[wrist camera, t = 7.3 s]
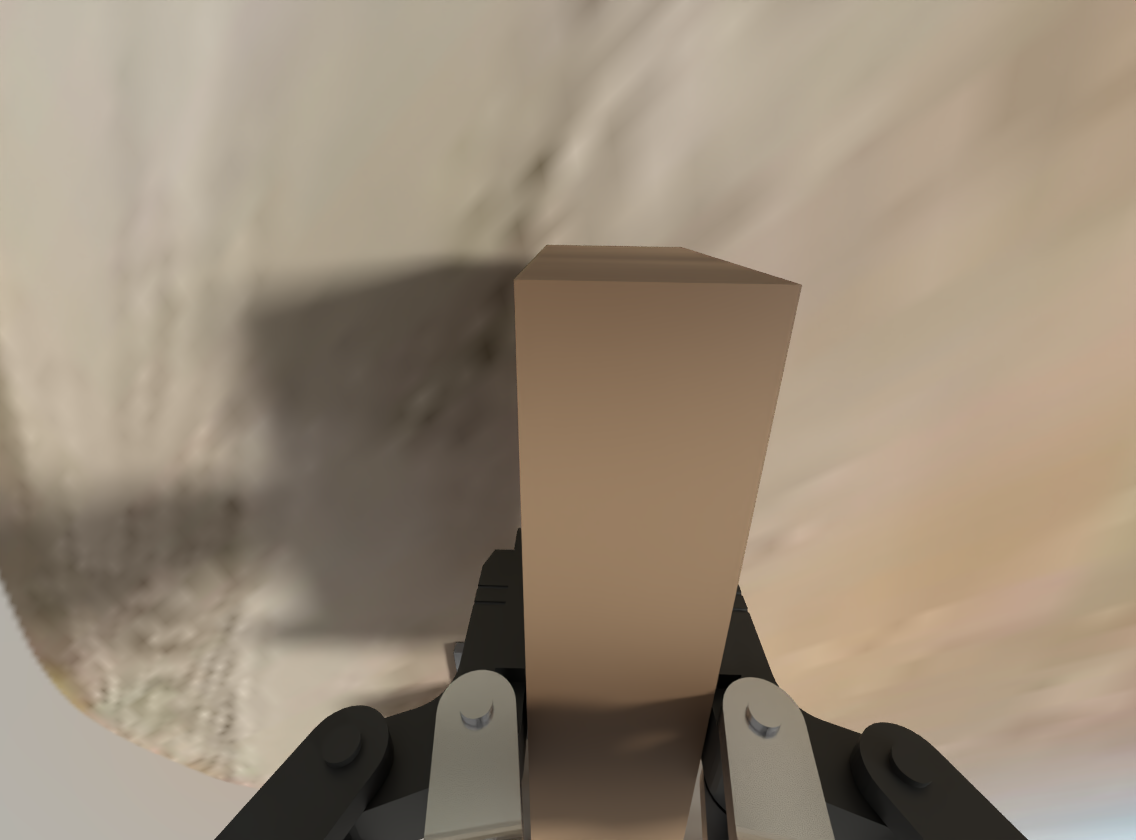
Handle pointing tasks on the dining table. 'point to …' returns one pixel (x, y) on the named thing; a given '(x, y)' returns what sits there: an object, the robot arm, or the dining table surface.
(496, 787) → the robot arm
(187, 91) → the dining table surface
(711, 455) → the wooden post on base
